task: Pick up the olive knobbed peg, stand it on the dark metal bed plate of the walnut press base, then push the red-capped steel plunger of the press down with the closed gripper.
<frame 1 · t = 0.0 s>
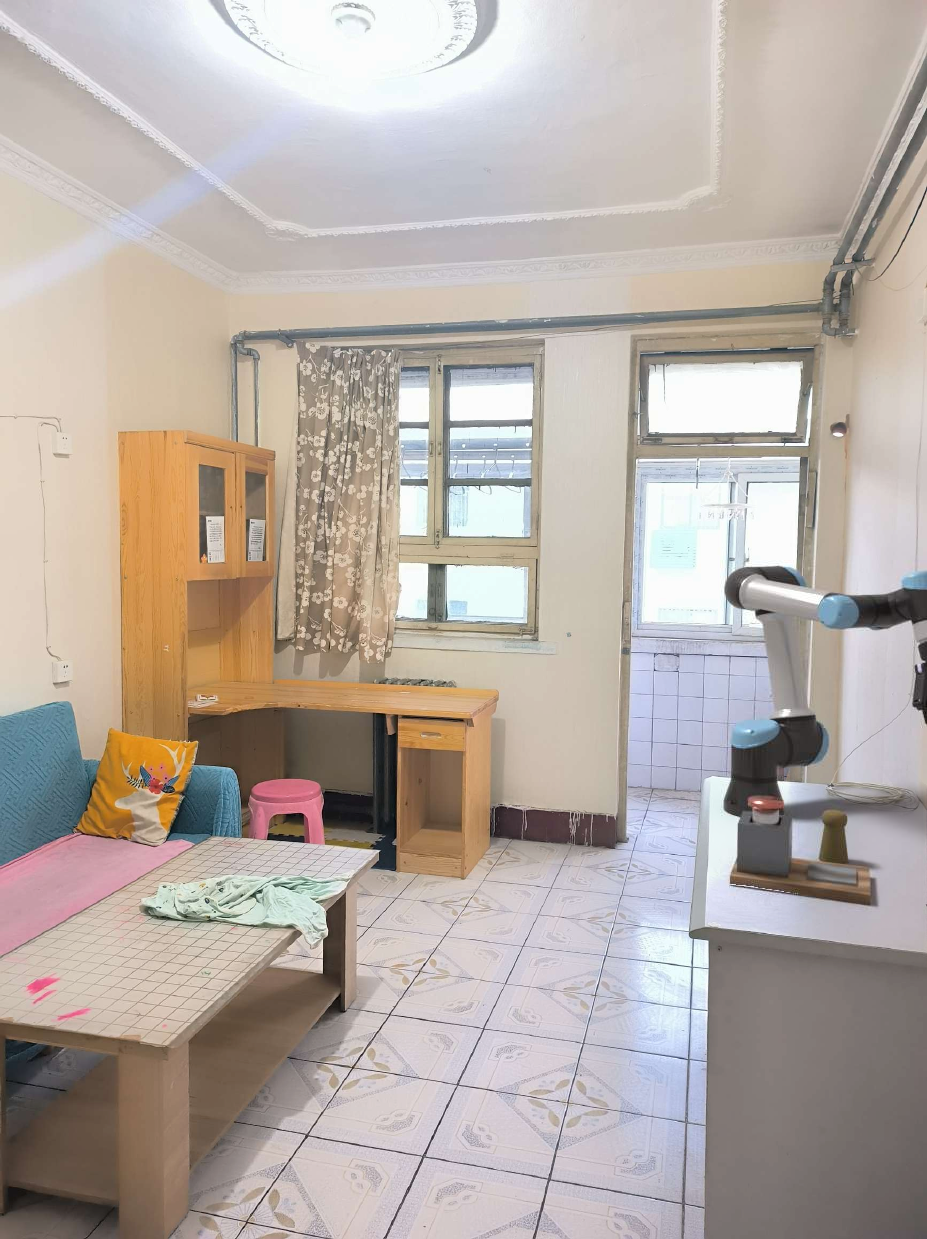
olive knobbed peg: (833, 861, 194), on the cabinet
grey square pillar: (764, 876, 184), resting on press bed
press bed: (800, 880, 181), on the cabinet
press plunger: (765, 821, 183), point 12 cm above the cabinet, slide at 0.0 cm
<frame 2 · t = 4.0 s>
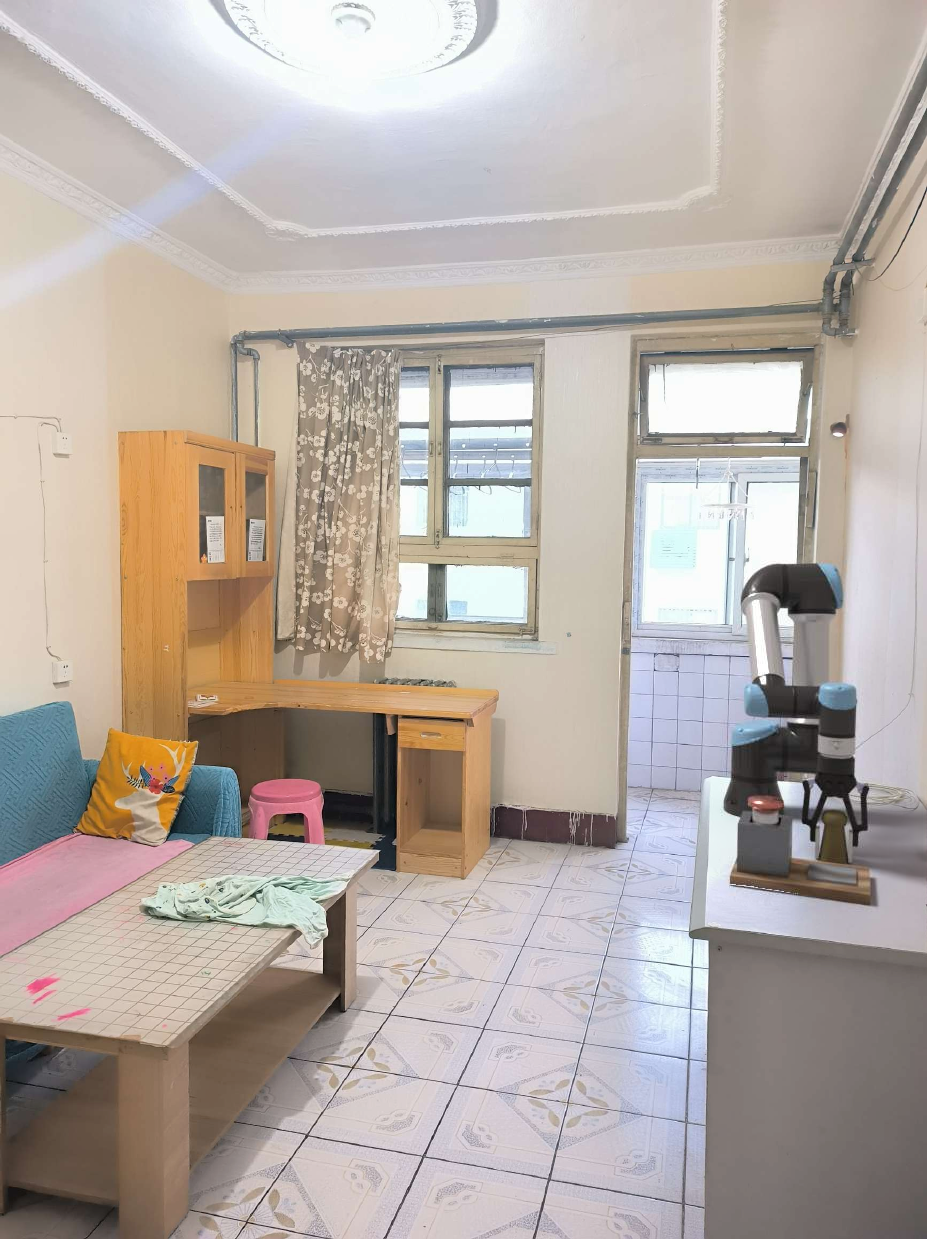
hand: (833, 858, 194), 0 cm above the cabinet, tool pointing down, fingers closed on olive knobbed peg, 6 cm apart
olive knobbed peg: (833, 860, 194), on the cabinet, touching gripper
everything else where it was.
when the fingers open (4 cm above the cabinet, at t = 9.7 s): olive knobbed peg drops 1 cm, resting on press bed.
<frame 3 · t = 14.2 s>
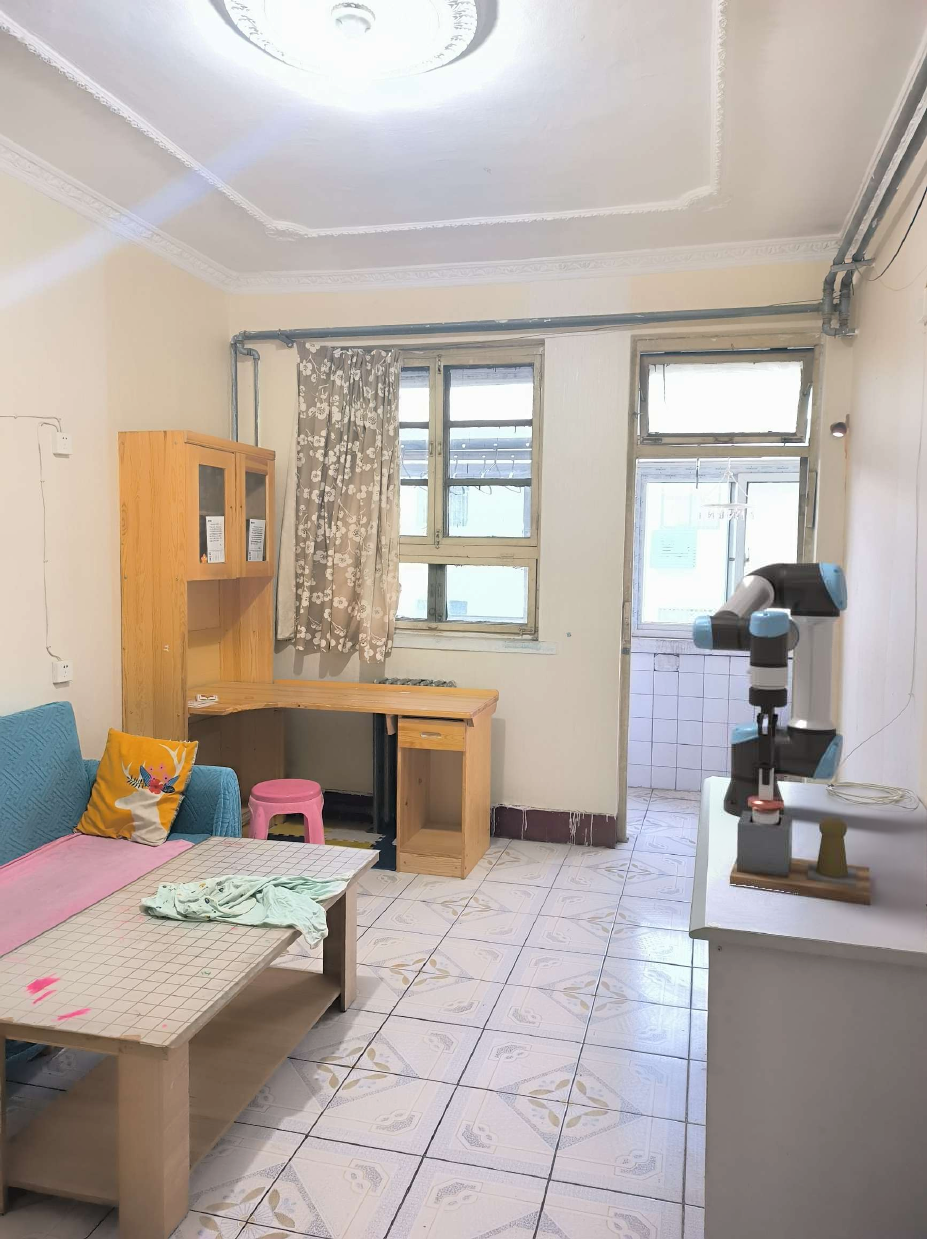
hand: (765, 799, 183), 16 cm above the cabinet, tool pointing down, fingers closed
olive knobbed peg: (831, 873, 179), point 2 cm above the cabinet, touching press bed
press plunger: (765, 821, 183), point 12 cm above the cabinet, slide at 0.0 cm, touching gripper
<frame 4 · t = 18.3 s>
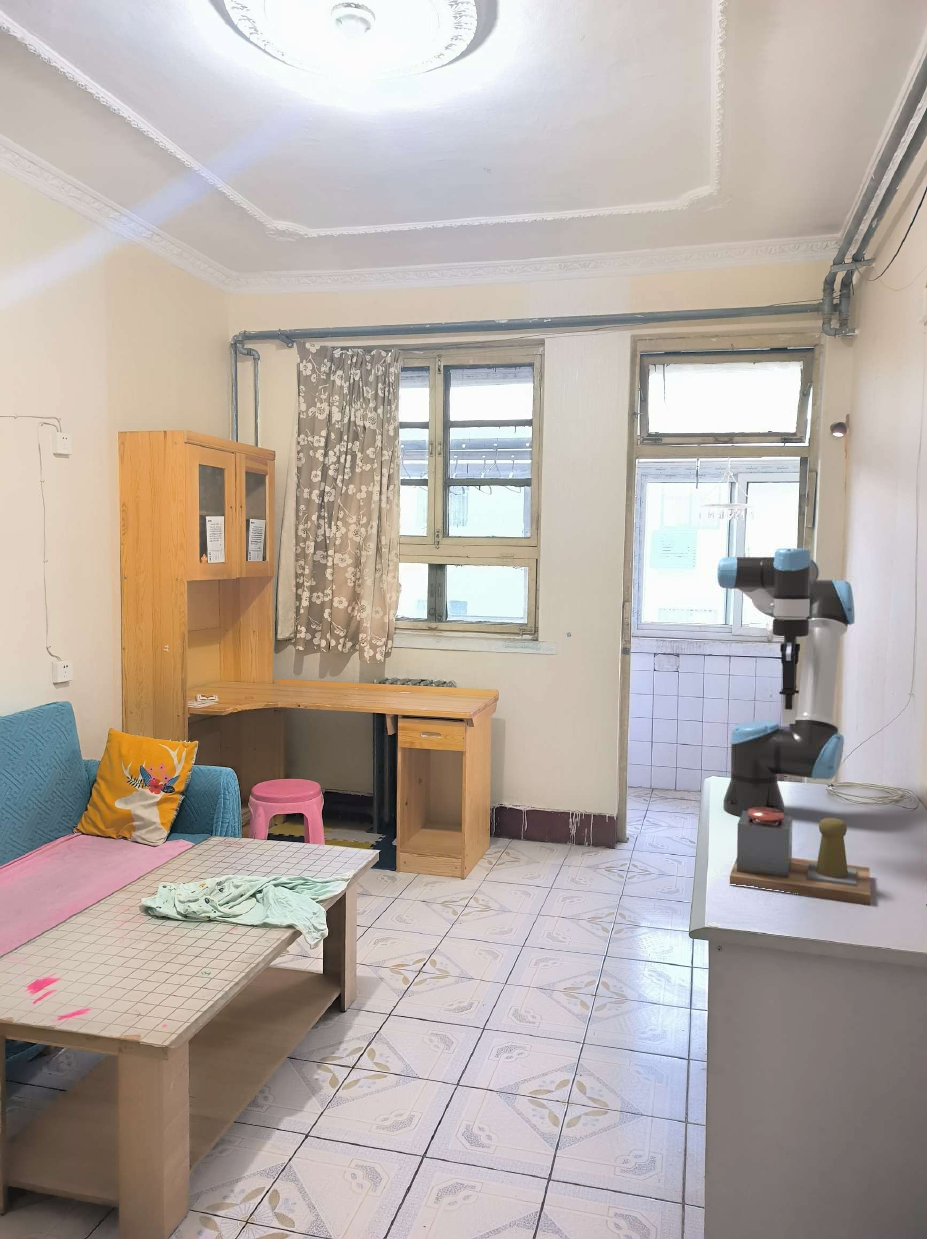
hand: (788, 722, 197), 29 cm above the cabinet, tool pointing down, fingers closed
press plunger: (765, 833, 184), point 9 cm above the cabinet, slide at 2.5 cm
everything else where it was.
at the end: olive knobbed peg 0.1 cm from the target spot on the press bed, point 2.4 cm above the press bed's base; olive knobbed peg tilted 0°; press plunger slide at 2.5 cm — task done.
